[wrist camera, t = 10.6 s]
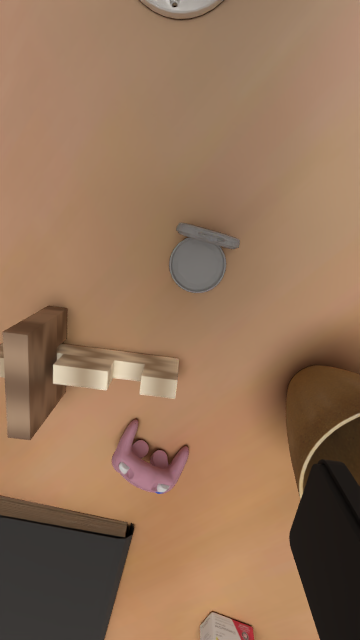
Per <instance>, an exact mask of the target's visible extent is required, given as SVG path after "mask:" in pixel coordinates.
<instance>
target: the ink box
mask: <svg viewBox="0 0 360 640" xmlns="http://www.w3.org/2000/svg"><path fill="white" fill-rule="evenodd" d="M200 640H254V635H253V628H252V627H250V626H248V625H246V624H243V623H240V622H238V621H235V620H232V619H230V618H227V617H225V616H222V615H219V614H217V613H214V612H212V613H211V614H210V615H209V616H208V617H207V618H206V619H205V621H204V622H203V623H202V624H201V625H200Z"/></svg>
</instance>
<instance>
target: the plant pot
mask: <svg viewBox="0 0 360 640" xmlns="http://www.w3.org/2000/svg"><path fill="white" fill-rule="evenodd" d="M286 426H287V436H288V444H289V450H290V456H291V461H292V465H293V470H294V474H295V479H296V483H297V488H298V492H299V496H300V499H301V497H302V494H303V491H304V488H305V485H306V482H307V479H308V476H309V473H310V470H311V468H312V465H313V464H317V463H318V461H319V460H321V459H325V460H332V461H340V462H343V463H344V464H345V465H346V466H347V468H348V469H349V471H350V472H351V474H352V476H353V477H354V479H355V480H356V482H357V483H358V485H359V486H360V374H358V373H354V372H351V371H347V370H344V369H340V368H335V367H330V366H323V365H314V366H310V367H307V368H304V369H302V370H301V371H299V372H298V373H297V374H296V375H295V376H294V377H293V378H292V380H291V381H290V383H289V386H288V391H287V400H286Z"/></svg>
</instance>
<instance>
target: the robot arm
mask: <svg viewBox="0 0 360 640" xmlns="http://www.w3.org/2000/svg"><path fill="white" fill-rule="evenodd" d="M140 1H141V2H142V3H143V4H145V5H146V6H147V7H149V8H150V9H151V10H153V11H154V12H156V13H159V14H161V15H163V16H166V17H171V18H175V19H186V18H193V17H196V16H200V15H203V14H204V13H206V12H208V11H210V10H212V9H214V8H215V7H216V6H217V5H218V4H220V3H221V2H222V1H223V0H140ZM174 5H176V6H177V7H173V6H174ZM289 539H290V546H291V550H292V553H293V556H294V559H295V562H296V566H297V569H298V572H299V575H300V578H301V581H302V584H303V588H304V591H305V594H306V597H307V600H308V603H309V606H310V610H311V613H312V616H313V619H314V622H315V625H316V628H317V632H318V635H319V638H320V640H360V486H359V485H358V483H357V482H356V480H355V479H354V477H353V476H352V474H351V472H350V471H349V469H348V468H347V466H346V465H345V464H344V463H343V462H340V461H332V460H325V459H321V460H319V461H318V463H317V464H313V465H312V468H311V470H310V473H309V476H308V479H307V482H306V485H305V488H304V491H303V494H302V497H301V500H300V503H299V506H298V509H297V512H296V515H295V518H294V521H293V524H292V527H291V530H290V536H289Z"/></svg>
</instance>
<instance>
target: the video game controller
mask: <svg viewBox="0 0 360 640" xmlns="http://www.w3.org/2000/svg"><path fill="white" fill-rule="evenodd" d="M137 428H138V420H133V421H131V423H130V424H129V425H128V427H127V428H126V430H125V432H124V433H123V435H122V437H121V439H120V441H119V444H118V446H117V449H116V451H115V452H114V454H113V456H112V465H113V467H114V469H115V470H116V471H117V472H119V473H120V474H121V475H122V476H123V477H124V478H125V479H126V480H127V481H128V482H130V483H131V484H133V485H134V486H136V487H138V488H140V489H142V490H145V491H149V492H155V493H158V494H164V493H166V492H168V491H170V490H171V489H172V488H173V487H174V486H175V484H176V482H177V481H178V479H179V477H180V475H181V473H182V471H183V468H184V466H185V464H186V461H187V459H188V455H189V449H188V447H186V446H184V447H183V448H182V449H181V450H180V451H179V452H178V453H177V454H176V456H175V457H174V459H173V460H172V462H171V464H170V465H168V459H167V455H166V453H165V452H164V451H162V450H157V451H156V452H154V453H153V454H152V455H151V458H150V463H151V464H149V463H147V462H145V461H144V460H142V459H141V458H143V457H144V456H145V455H146V454H147V453H148V450H149V448H148V445H147V443H146V442H145V441H143V440H138V441H136V442H135V443H134V444H133V445H132V443H133V439H134V437H135V434H136V432H137Z"/></svg>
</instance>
